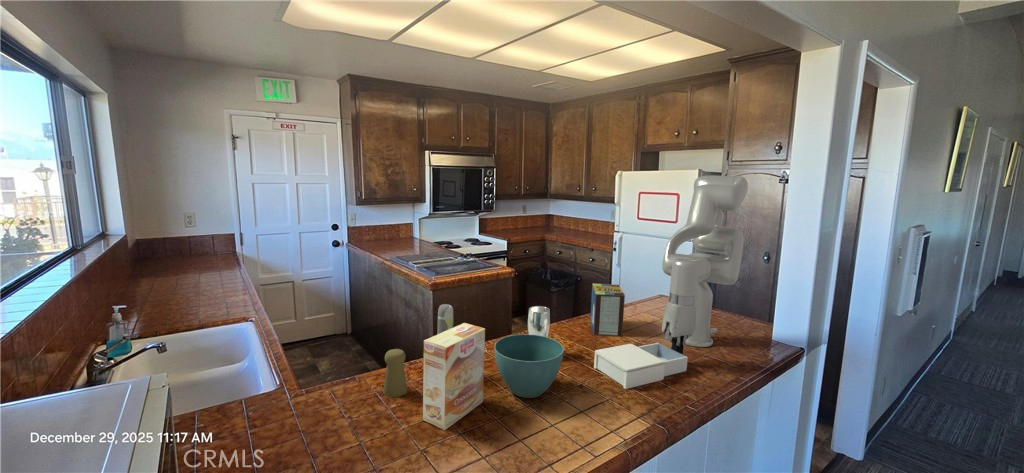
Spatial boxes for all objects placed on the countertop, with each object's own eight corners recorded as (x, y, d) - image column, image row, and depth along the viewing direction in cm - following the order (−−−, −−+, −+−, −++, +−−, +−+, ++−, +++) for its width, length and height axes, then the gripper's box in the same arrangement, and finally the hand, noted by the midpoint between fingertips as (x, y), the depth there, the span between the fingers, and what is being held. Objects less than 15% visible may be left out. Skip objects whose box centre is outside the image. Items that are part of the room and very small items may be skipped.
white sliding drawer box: (657, 355, 139) (658, 342, 138) (686, 371, 128) (687, 357, 128) (597, 368, 128) (598, 354, 128) (623, 386, 118) (625, 371, 117)
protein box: (616, 322, 170) (619, 284, 168) (622, 336, 155) (625, 295, 153) (589, 320, 171) (592, 282, 169) (593, 334, 156) (595, 293, 154)
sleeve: (629, 360, 135) (631, 343, 134) (663, 379, 123) (665, 361, 122) (593, 367, 129) (595, 350, 128) (625, 389, 117) (626, 370, 116)
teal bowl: (481, 398, 109) (482, 353, 107) (508, 369, 126) (509, 329, 124) (550, 415, 103) (552, 366, 101) (568, 382, 119) (571, 340, 118)
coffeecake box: (445, 431, 95) (446, 347, 92) (421, 420, 99) (421, 339, 96) (484, 402, 108) (486, 327, 105) (462, 393, 111) (463, 321, 109)
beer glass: (523, 356, 135) (525, 310, 133) (530, 348, 142) (532, 304, 140) (544, 360, 133) (546, 313, 131) (551, 352, 139) (553, 307, 137)
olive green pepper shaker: (411, 387, 114) (411, 348, 112) (398, 398, 108) (398, 357, 106) (392, 383, 115) (391, 344, 114) (378, 394, 110) (377, 353, 108)
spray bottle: (457, 372, 123) (458, 305, 120) (443, 378, 119) (444, 309, 116) (446, 367, 126) (447, 301, 123) (432, 372, 123) (433, 304, 120)
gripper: (689, 293, 138) (684, 348, 141) (654, 298, 132) (650, 355, 134) (709, 300, 132) (703, 356, 134) (674, 305, 125) (668, 364, 127)
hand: (676, 355), depth 134 cm, fingers closed
